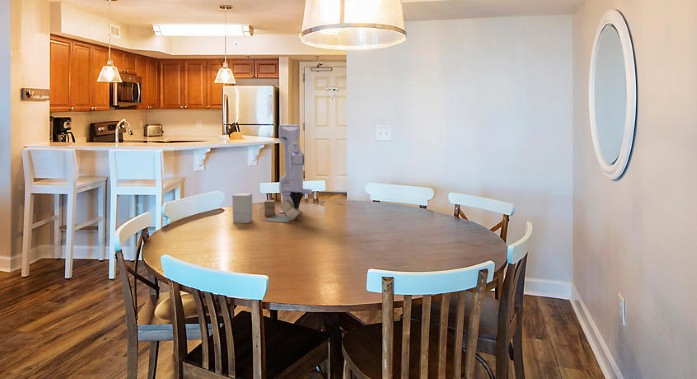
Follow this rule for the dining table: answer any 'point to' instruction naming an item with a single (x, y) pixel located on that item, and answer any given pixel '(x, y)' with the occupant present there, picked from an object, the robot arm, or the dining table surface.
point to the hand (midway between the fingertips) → (296, 208)
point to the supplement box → (242, 208)
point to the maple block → (290, 210)
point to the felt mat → (278, 218)
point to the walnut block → (269, 207)
